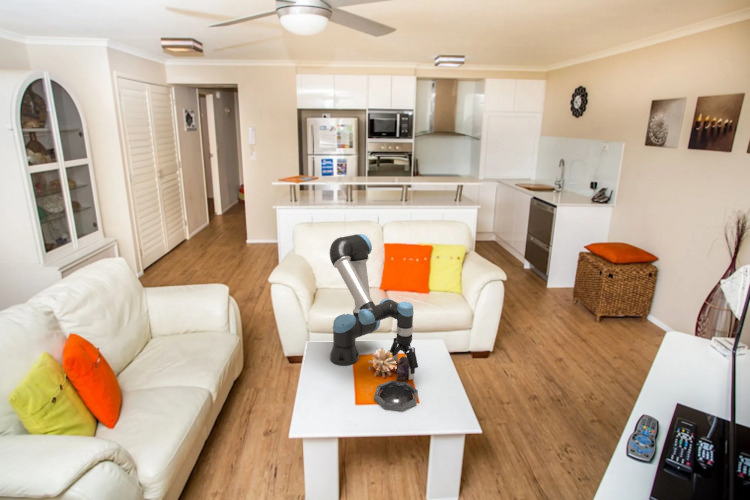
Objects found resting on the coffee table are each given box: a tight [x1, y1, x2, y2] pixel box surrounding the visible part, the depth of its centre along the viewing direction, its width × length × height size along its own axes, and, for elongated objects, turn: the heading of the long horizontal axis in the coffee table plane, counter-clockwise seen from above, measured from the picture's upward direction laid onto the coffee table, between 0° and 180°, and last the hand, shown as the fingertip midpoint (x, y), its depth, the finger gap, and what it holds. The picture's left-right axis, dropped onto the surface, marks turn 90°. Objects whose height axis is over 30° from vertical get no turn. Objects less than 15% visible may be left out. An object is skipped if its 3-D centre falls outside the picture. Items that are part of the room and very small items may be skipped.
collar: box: [373, 380, 419, 412], centre depth 203 cm, size 19×19×2 cm
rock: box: [393, 356, 410, 382], centre depth 219 cm, size 12×9×10 cm
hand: (403, 372), depth 220 cm, fingers closed on rock, 12 cm apart
